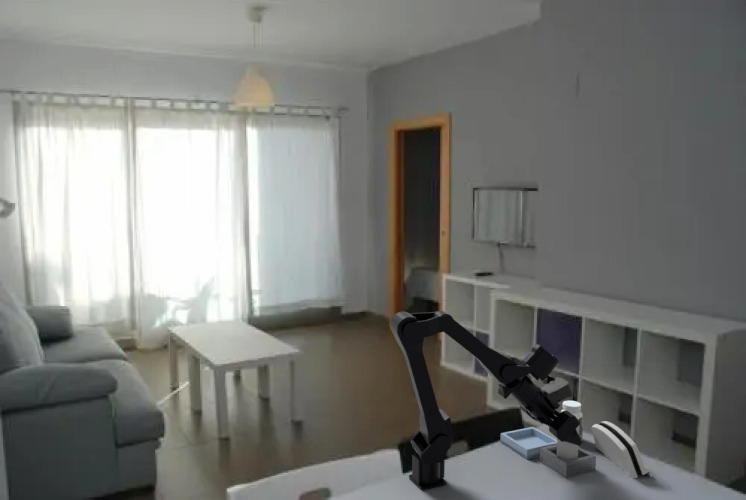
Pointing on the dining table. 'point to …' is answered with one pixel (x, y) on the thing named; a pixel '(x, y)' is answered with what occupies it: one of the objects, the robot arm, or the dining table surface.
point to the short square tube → (567, 462)
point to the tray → (527, 441)
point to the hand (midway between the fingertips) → (570, 435)
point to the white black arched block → (619, 448)
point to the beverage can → (567, 449)
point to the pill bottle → (574, 413)
